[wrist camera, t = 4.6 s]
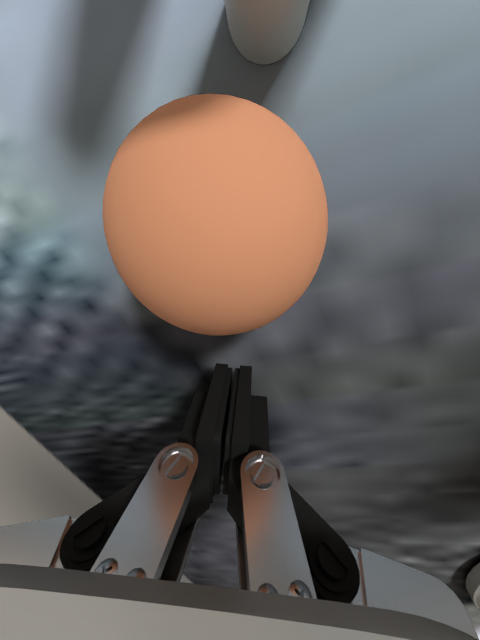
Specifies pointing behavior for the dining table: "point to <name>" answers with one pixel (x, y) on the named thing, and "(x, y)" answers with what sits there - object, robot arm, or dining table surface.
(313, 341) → the dining table surface
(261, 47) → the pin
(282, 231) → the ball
